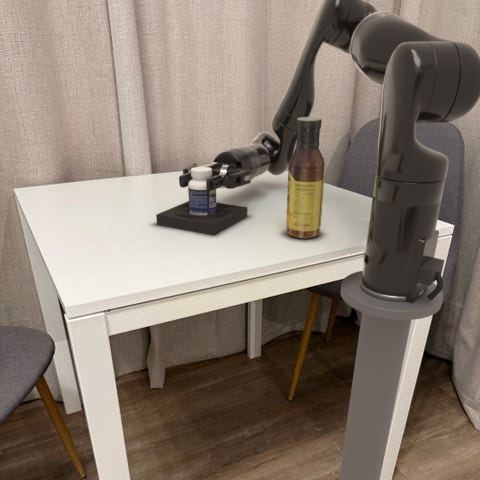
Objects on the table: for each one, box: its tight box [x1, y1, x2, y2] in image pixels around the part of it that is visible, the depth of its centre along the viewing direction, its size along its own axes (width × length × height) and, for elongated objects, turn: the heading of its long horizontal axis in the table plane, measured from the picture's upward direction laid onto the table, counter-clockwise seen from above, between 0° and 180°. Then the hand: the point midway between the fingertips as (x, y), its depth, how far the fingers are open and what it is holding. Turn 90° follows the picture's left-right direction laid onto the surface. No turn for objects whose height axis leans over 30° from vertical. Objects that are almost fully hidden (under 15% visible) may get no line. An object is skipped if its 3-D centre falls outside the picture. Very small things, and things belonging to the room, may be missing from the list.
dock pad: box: [155, 200, 248, 236], centre depth 95 cm, size 13×13×2 cm
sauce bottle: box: [285, 116, 326, 240], centre depth 83 cm, size 7×6×20 cm
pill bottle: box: [187, 167, 218, 215], centre depth 93 cm, size 5×5×10 cm
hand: (194, 183), depth 90 cm, fingers closed on pill bottle, 5 cm apart
